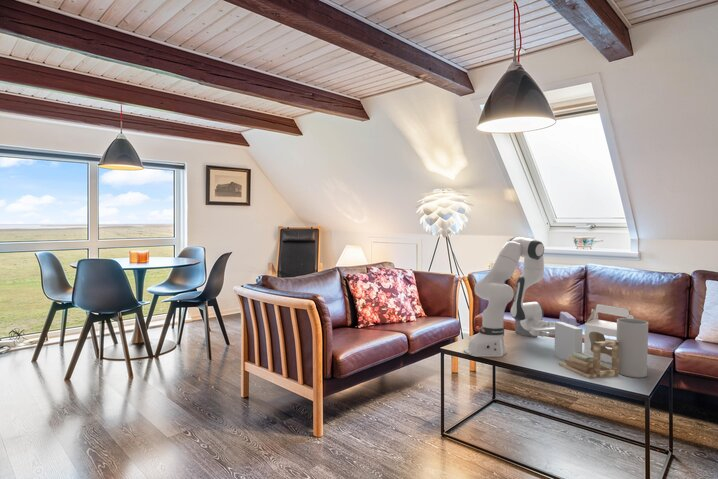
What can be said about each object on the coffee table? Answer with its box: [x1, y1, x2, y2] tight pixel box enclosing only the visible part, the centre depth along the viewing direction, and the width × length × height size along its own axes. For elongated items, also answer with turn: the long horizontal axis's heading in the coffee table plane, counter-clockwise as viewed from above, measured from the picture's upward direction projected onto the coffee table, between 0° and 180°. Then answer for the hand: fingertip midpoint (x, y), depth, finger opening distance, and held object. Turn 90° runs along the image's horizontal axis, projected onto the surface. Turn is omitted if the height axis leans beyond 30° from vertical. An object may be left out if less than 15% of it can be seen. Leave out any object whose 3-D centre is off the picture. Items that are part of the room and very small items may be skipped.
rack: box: [558, 340, 619, 379], centre depth 213 cm, size 16×20×16 cm
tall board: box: [554, 321, 583, 361], centre depth 229 cm, size 4×16×18 cm, turn 12°
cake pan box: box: [558, 311, 577, 327], centre depth 257 cm, size 19×5×18 cm, turn 170°
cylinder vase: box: [616, 317, 649, 379], centre depth 207 cm, size 12×12×25 cm
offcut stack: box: [566, 351, 594, 374], centre depth 210 cm, size 6×13×7 cm, turn 12°
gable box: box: [583, 303, 635, 364], centre depth 229 cm, size 22×13×28 cm, turn 32°
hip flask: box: [514, 319, 538, 338], centre depth 280 cm, size 16×4×20 cm, turn 32°
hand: (556, 334), depth 239 cm, fingers open, 8 cm apart
